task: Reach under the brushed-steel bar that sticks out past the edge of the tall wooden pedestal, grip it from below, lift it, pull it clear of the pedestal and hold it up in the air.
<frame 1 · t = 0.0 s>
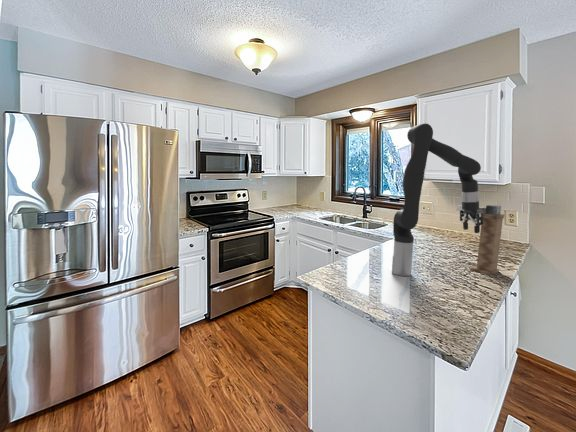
hand: (471, 231, 153), 22 cm above the countertop, tool pointing down, fingers open, 8 cm apart
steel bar: (477, 212, 160), point 31 cm above the countertop, touching wooden pedestal
wooden pedestal: (481, 270, 160), on the countertop
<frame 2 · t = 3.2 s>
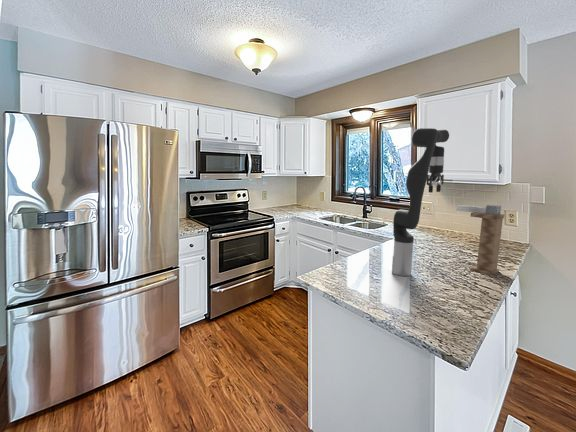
hand: (434, 192, 177), 41 cm above the countertop, tool pointing down, fingers open, 8 cm apart
nothing on the countertop moved.
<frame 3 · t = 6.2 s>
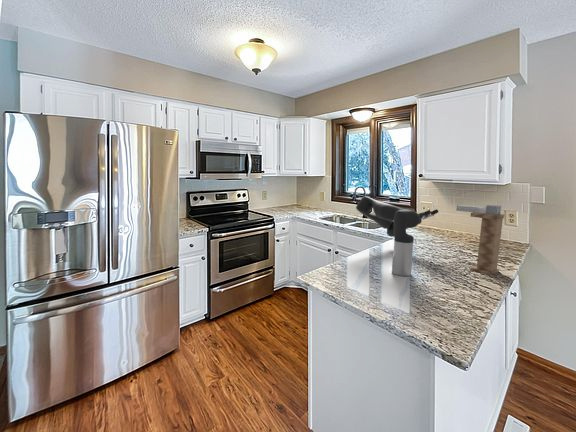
hand: (434, 211, 179), 29 cm above the countertop, tool pointing upward, fingers open, 8 cm apart
nothing on the countertop moved.
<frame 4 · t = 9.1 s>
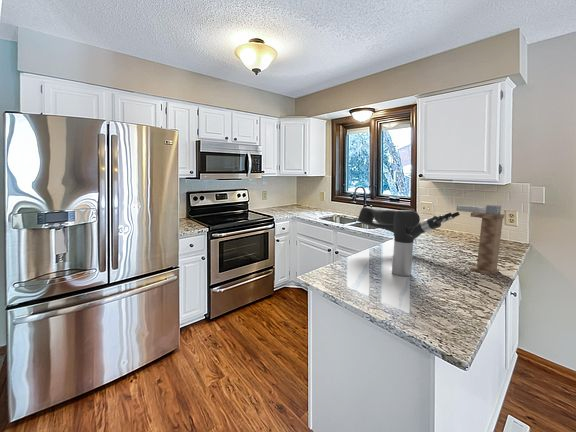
hand: (455, 213, 169), 29 cm above the countertop, tool pointing upward, fingers open, 8 cm apart
nothing on the countertop moved.
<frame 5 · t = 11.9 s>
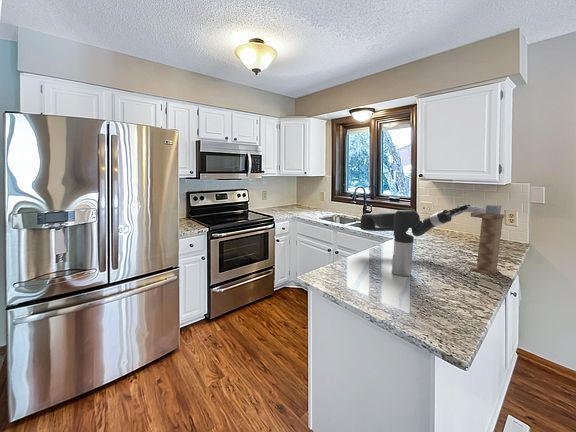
hand: (468, 206, 163), 34 cm above the countertop, tool pointing upward, fingers closed on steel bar, 3 cm apart
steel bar: (477, 212, 160), point 31 cm above the countertop, touching gripper, wooden pedestal
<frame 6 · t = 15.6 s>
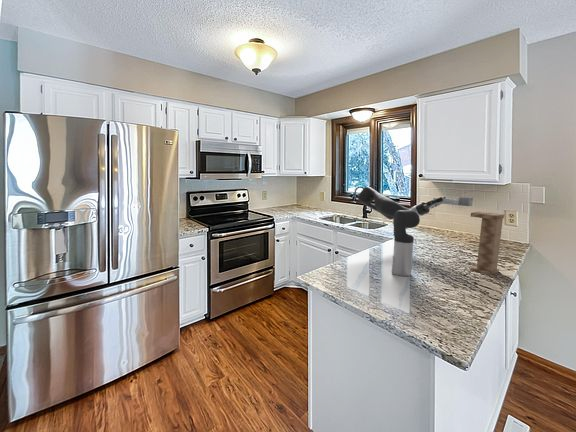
hand: (443, 198, 174), 37 cm above the countertop, tool pointing upward, fingers closed on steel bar, 3 cm apart
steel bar: (451, 204, 170), point 34 cm above the countertop, touching gripper
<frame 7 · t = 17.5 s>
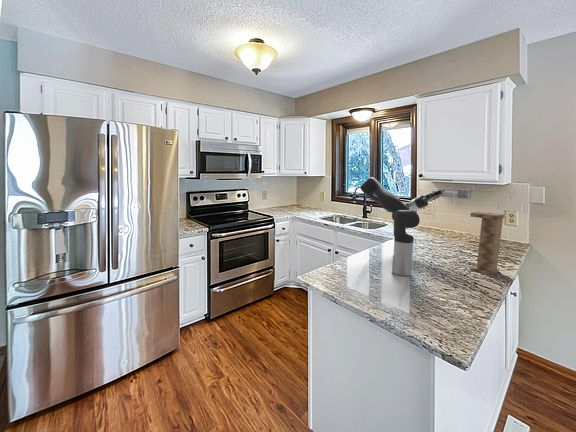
hand: (442, 191, 174), 41 cm above the countertop, tool pointing upward, fingers closed on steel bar, 3 cm apart
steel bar: (450, 197, 171), point 38 cm above the countertop, touching gripper
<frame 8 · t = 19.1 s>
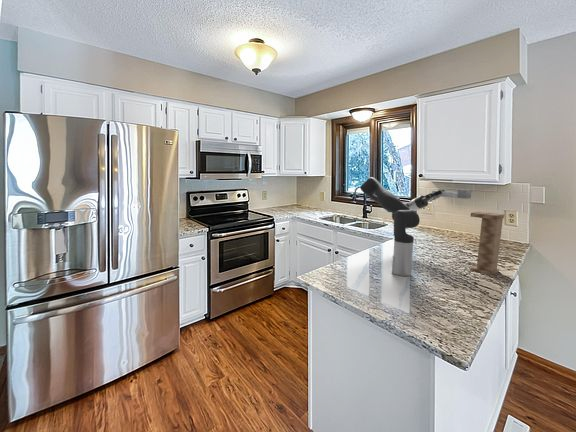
hand: (442, 191, 174), 41 cm above the countertop, tool pointing upward, fingers closed on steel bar, 3 cm apart
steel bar: (450, 197, 171), point 38 cm above the countertop, touching gripper
at the end: the gripper is holding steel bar; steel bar touching gripper; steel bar moved 16.6 cm from its start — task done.
